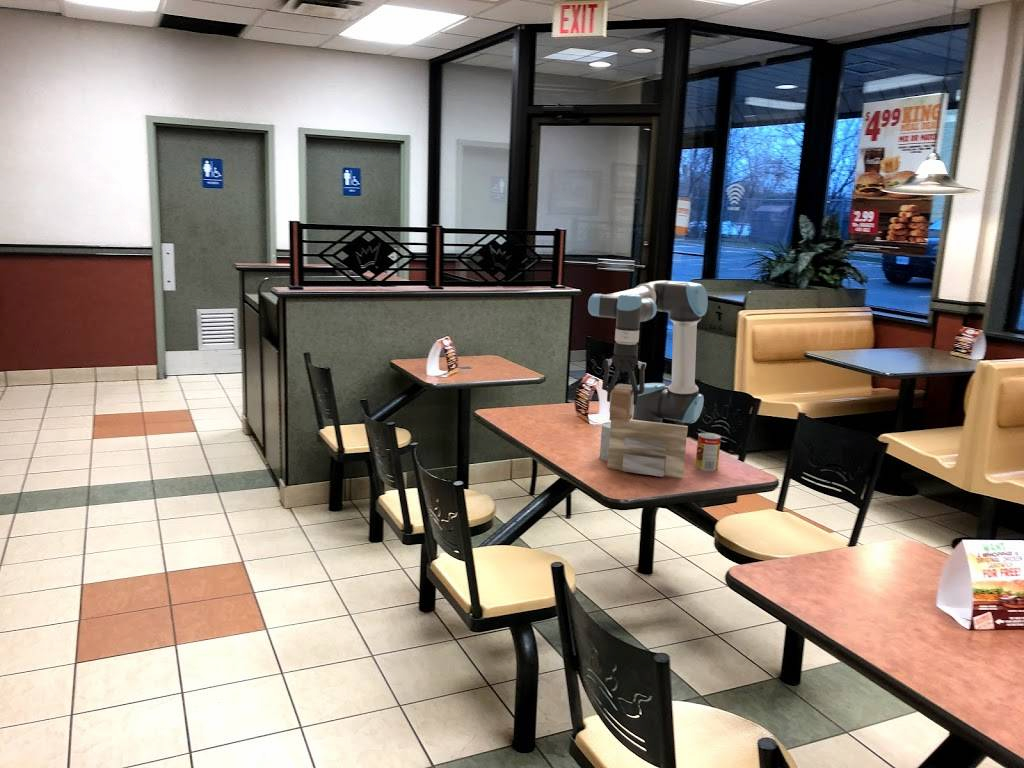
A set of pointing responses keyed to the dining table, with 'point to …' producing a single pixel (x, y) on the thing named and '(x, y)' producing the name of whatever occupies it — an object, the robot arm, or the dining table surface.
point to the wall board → (647, 448)
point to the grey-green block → (605, 441)
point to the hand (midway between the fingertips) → (621, 412)
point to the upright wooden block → (621, 403)
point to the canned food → (708, 451)
